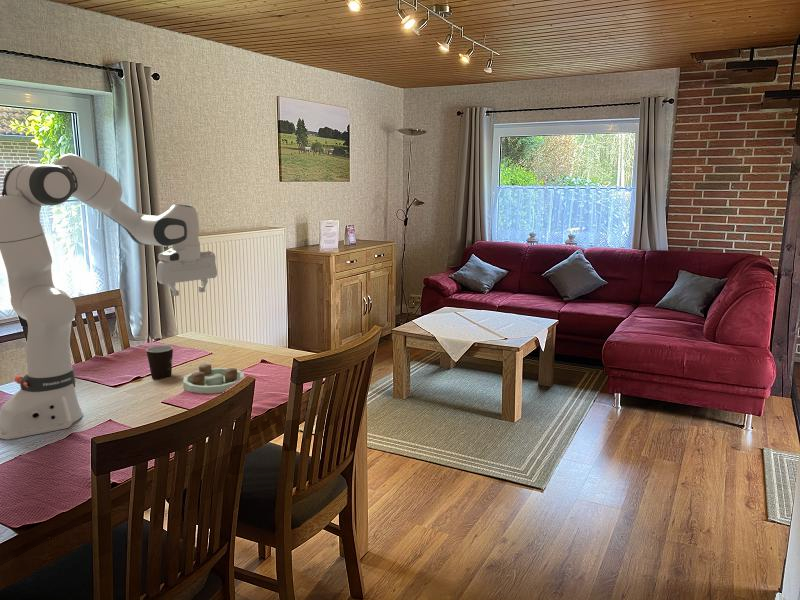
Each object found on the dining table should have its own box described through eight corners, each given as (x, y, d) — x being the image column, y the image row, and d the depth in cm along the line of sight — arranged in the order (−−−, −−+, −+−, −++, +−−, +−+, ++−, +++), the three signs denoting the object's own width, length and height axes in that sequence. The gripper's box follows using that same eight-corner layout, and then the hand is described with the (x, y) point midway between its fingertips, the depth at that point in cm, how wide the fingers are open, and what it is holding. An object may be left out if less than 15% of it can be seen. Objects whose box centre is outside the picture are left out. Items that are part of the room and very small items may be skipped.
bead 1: (195, 389, 202) (195, 376, 201) (189, 386, 204) (189, 373, 204) (207, 386, 205) (206, 373, 204) (201, 383, 207) (200, 370, 206)
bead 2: (197, 378, 212) (196, 366, 211) (208, 376, 215) (207, 363, 214) (203, 381, 209) (202, 368, 209) (214, 379, 212) (213, 366, 211)
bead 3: (229, 385, 206) (228, 372, 205) (222, 382, 208) (222, 370, 208) (239, 383, 209) (239, 370, 208) (233, 380, 211) (232, 367, 210)
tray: (202, 400, 195) (201, 391, 194) (172, 385, 209) (172, 376, 208) (256, 385, 209) (255, 376, 208) (225, 372, 222) (225, 363, 222)
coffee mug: (166, 381, 212) (164, 353, 210) (143, 379, 214) (140, 351, 212) (184, 370, 224) (182, 343, 222) (162, 369, 225) (160, 342, 223)
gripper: (210, 249, 219) (212, 288, 222) (153, 255, 205) (156, 296, 207) (219, 251, 215) (221, 291, 217) (161, 257, 200) (164, 299, 203)
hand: (189, 293), depth 212 cm, fingers open, 8 cm apart
